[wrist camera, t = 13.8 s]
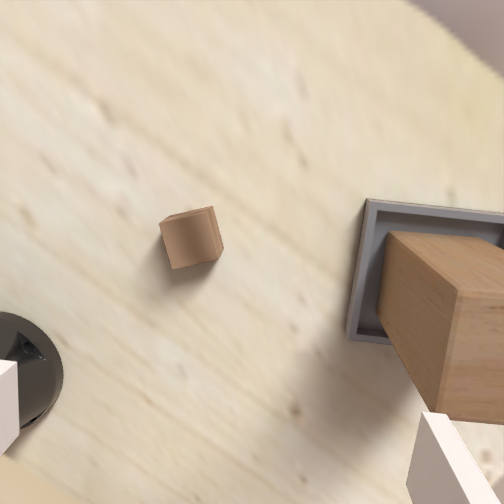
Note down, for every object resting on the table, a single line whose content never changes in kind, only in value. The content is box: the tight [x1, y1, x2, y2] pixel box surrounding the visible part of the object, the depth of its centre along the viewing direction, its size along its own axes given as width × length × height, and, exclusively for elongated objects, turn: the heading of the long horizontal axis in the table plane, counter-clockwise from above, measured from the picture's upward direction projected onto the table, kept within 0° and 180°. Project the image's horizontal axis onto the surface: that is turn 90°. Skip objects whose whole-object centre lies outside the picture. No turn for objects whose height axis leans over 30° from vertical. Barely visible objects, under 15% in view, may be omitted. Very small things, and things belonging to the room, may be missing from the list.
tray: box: [345, 199, 504, 345], centre depth 49 cm, size 16×16×2 cm
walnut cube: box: [159, 206, 224, 269], centre depth 48 cm, size 5×5×5 cm
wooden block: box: [376, 231, 504, 425], centre depth 40 cm, size 10×10×20 cm
